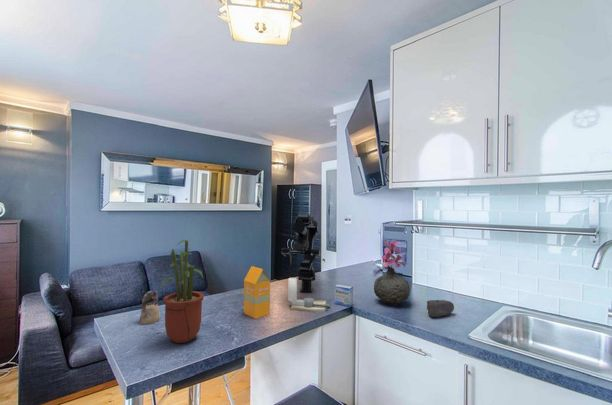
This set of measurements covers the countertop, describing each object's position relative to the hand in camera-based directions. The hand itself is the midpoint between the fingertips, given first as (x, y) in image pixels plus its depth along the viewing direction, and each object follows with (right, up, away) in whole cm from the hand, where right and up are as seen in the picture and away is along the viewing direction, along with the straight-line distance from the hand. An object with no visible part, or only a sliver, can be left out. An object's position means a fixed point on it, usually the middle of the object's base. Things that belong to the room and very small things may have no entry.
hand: (299, 270), depth 140 cm
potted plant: (-42, -15, -38) cm, 58 cm away
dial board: (+6, -16, -4) cm, 18 cm away
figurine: (-60, -15, -24) cm, 66 cm away
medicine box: (+21, -17, 0) cm, 27 cm away
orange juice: (-18, -16, -14) cm, 28 cm away
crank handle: (+4, -15, -7) cm, 17 cm away
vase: (+45, -17, +2) cm, 48 cm away
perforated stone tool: (+62, -17, -13) cm, 66 cm away
